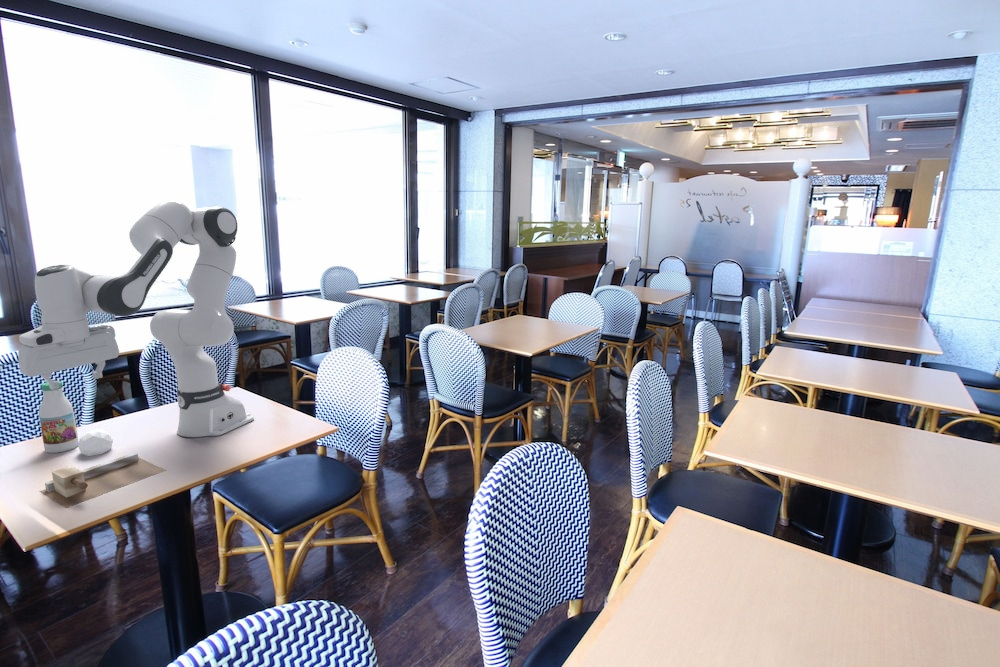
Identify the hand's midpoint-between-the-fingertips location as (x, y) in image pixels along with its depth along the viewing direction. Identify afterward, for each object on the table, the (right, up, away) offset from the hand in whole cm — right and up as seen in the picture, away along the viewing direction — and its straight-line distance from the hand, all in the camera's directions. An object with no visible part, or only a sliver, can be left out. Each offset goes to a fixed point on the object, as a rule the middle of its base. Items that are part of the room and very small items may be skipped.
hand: (77, 383), depth 134 cm
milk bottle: (-20, -21, +19) cm, 34 cm away
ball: (-6, -22, +15) cm, 27 cm away
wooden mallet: (+6, -26, -8) cm, 28 cm away
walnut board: (+9, -26, -1) cm, 27 cm away
